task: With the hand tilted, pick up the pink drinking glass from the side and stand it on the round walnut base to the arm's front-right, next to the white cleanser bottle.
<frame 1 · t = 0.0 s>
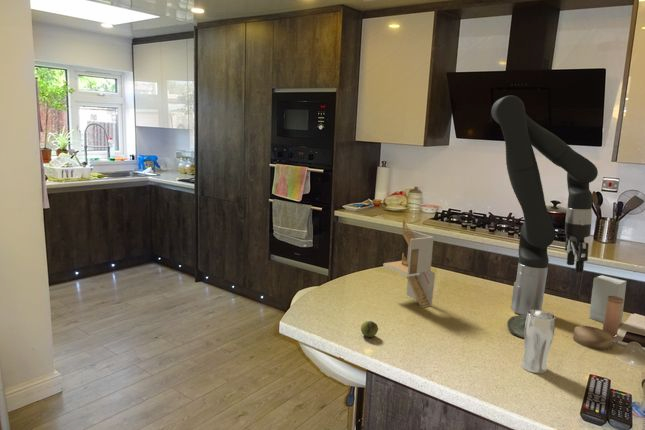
hand: (574, 268, 155), 17 cm above the table, tool pointing down, fingers open, 8 cm apart
skincare box: (604, 321, 156), on the table
staircase: (407, 303, 164), on the table
beer glass: (533, 368, 121), on the table
base: (591, 342, 138), on the table
lid: (524, 333, 143), on the table
lime: (369, 337, 134), on the table
pink drinking glass: (609, 334, 145), on the table
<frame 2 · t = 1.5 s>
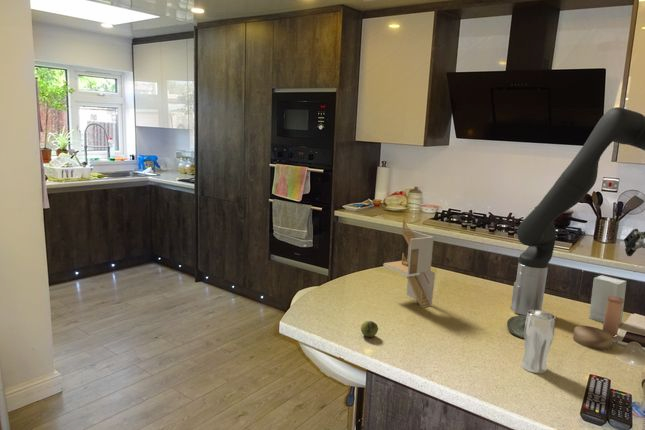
hand: (644, 254, 128), 29 cm above the table, tool tilted 45°, fingers open, 8 cm apart
nothing on the table moved.
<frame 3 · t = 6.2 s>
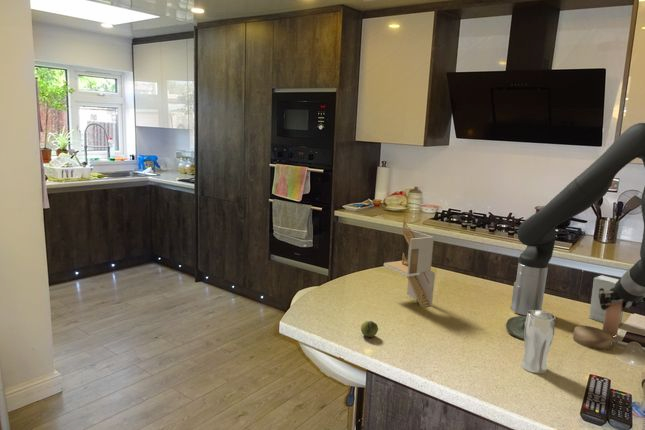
hand: (611, 307, 145), 8 cm above the table, tool tilted 45°, fingers closed on pink drinking glass, 4 cm apart
pink drinking glass: (609, 334, 145), on the table, touching gripper
when the fingers open (12 cm above the table, at t = 10.5 s): pink drinking glass drops 1 cm, resting on base.
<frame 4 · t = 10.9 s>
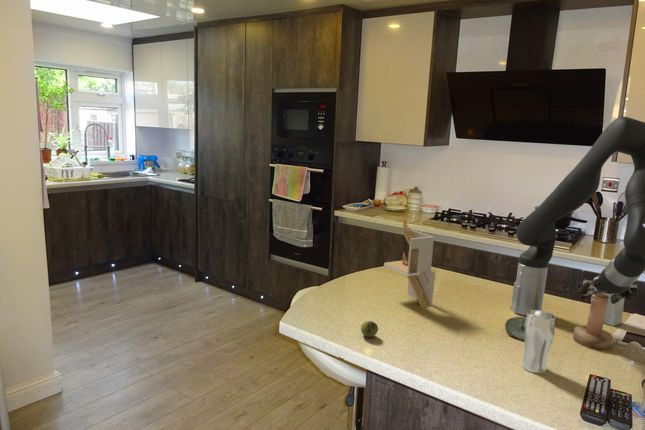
hand: (596, 299, 137), 13 cm above the table, tool tilted 45°, fingers open, 8 cm apart
pink drinking glass: (593, 332, 138), point 3 cm above the table, touching base
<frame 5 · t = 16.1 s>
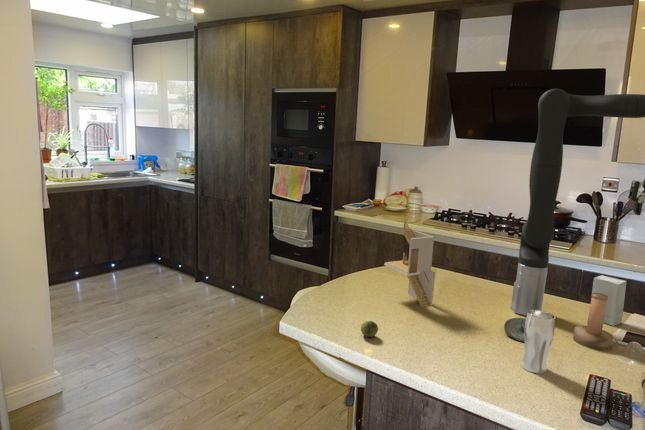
at the end: pink drinking glass inside the target area on the base (0.1 cm from its centre), point 3.0 cm above the base's base; pink drinking glass tilted 0°; the gripper is holding nothing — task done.
